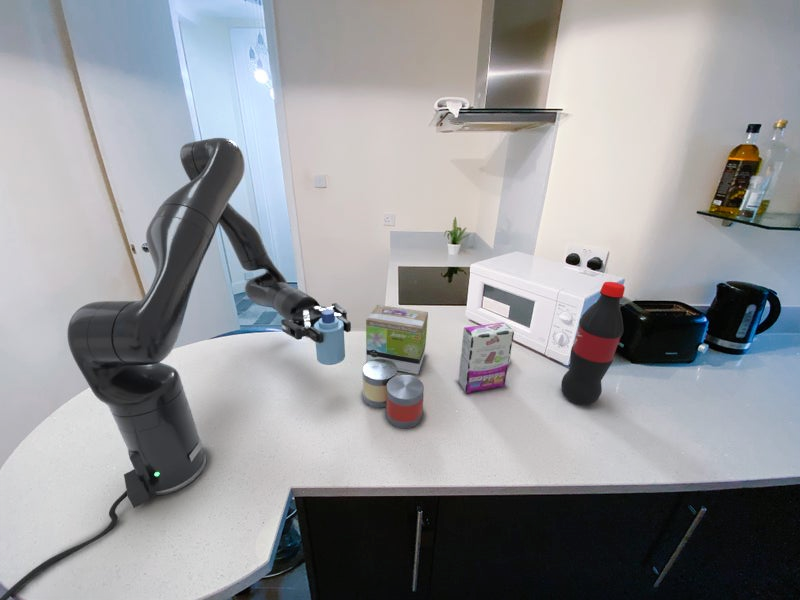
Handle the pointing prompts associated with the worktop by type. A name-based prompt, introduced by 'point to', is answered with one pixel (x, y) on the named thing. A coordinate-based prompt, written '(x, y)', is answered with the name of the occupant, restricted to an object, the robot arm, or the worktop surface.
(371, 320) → the tea box
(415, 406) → the can front
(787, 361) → the worktop surface
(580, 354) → the cola bottle
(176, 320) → the robot arm
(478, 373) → the candy bar box
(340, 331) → the plastic bottle
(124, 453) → the worktop surface
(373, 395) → the can back
